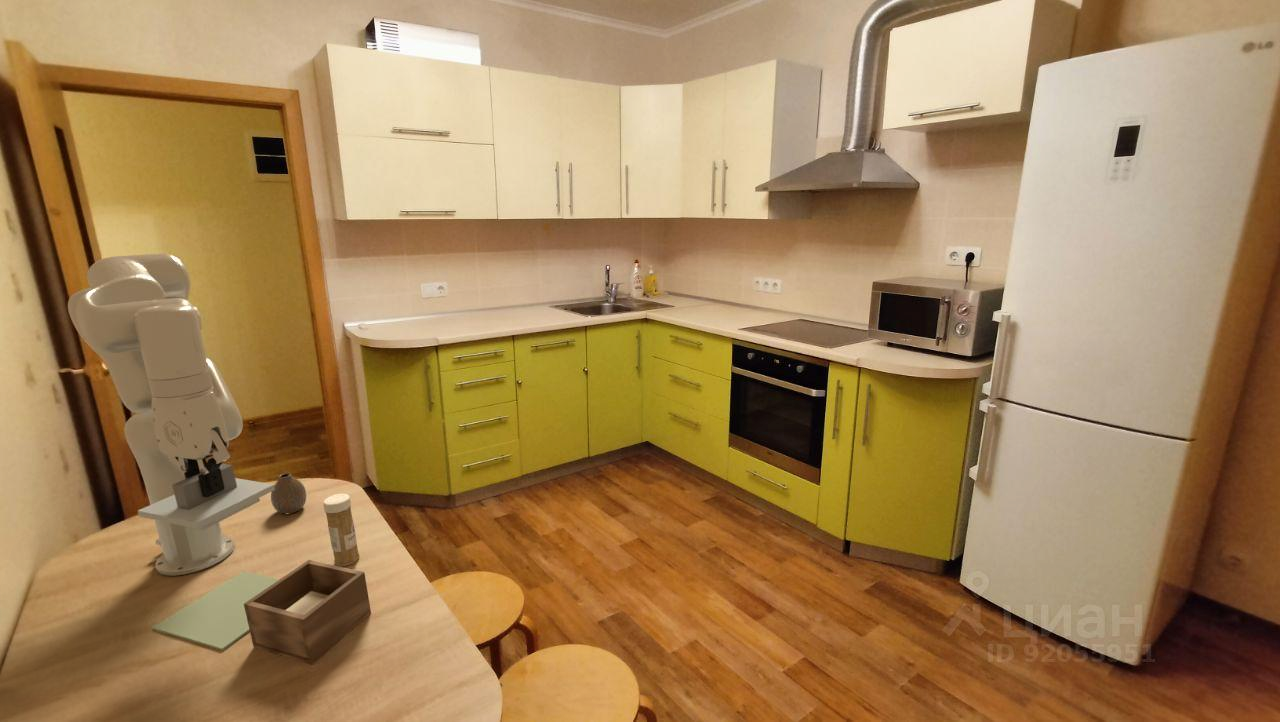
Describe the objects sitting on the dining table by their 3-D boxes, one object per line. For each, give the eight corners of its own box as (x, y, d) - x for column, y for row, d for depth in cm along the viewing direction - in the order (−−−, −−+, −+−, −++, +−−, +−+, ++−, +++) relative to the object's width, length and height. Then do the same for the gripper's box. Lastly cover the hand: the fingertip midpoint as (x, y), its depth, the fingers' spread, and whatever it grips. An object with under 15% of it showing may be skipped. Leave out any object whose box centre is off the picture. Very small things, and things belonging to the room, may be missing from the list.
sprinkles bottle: (361, 562, 113) (351, 499, 110) (335, 570, 111) (324, 506, 107) (357, 551, 117) (347, 490, 113) (332, 558, 114) (321, 497, 111)
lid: (141, 524, 92) (131, 487, 90) (221, 487, 104) (214, 454, 102) (199, 537, 88) (190, 498, 86) (276, 497, 100) (269, 462, 98)
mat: (152, 629, 96) (152, 627, 96) (243, 572, 111) (243, 570, 110) (222, 650, 91) (222, 648, 91) (308, 588, 106) (308, 586, 105)
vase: (266, 516, 131) (259, 481, 128) (289, 501, 137) (282, 467, 135) (293, 518, 130) (286, 483, 127) (315, 503, 136) (309, 469, 134)
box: (253, 647, 92) (243, 603, 89) (316, 599, 102) (308, 559, 100) (312, 664, 88) (303, 619, 86) (371, 613, 99) (364, 572, 97)
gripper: (119, 388, 89) (148, 496, 94) (193, 396, 84) (220, 510, 89) (171, 374, 96) (195, 476, 101) (242, 381, 91) (264, 488, 96)
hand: (207, 491), depth 95 cm, fingers closed on lid
